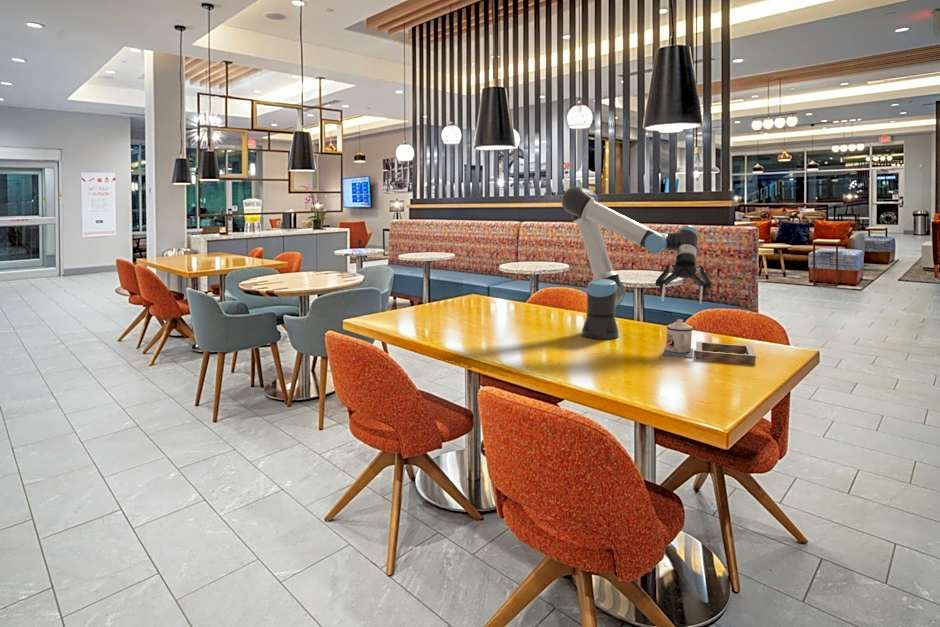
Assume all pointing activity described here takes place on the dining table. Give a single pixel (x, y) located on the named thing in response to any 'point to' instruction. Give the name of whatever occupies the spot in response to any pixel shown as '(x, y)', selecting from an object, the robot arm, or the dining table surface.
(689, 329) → the teacup with lid
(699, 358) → the walnut board
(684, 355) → the charcoal rubber mat
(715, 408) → the dining table surface
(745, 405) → the dining table surface
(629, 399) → the dining table surface
